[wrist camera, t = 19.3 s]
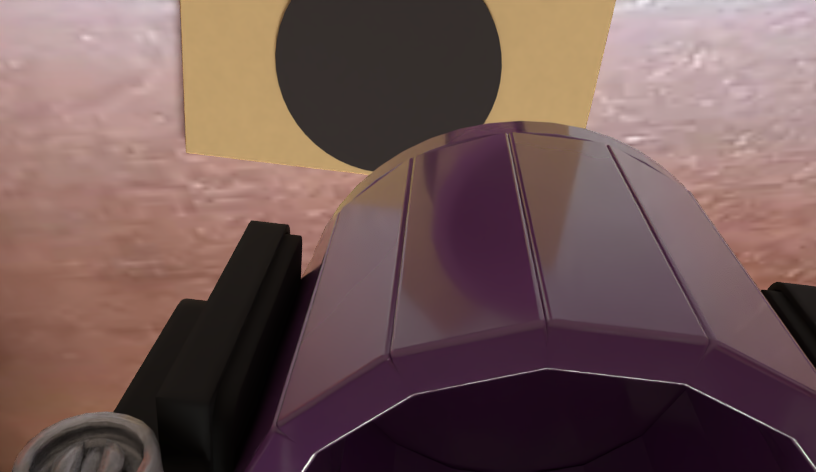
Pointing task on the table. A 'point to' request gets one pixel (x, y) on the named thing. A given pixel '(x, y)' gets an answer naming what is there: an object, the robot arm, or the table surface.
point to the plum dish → (530, 324)
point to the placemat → (379, 73)
